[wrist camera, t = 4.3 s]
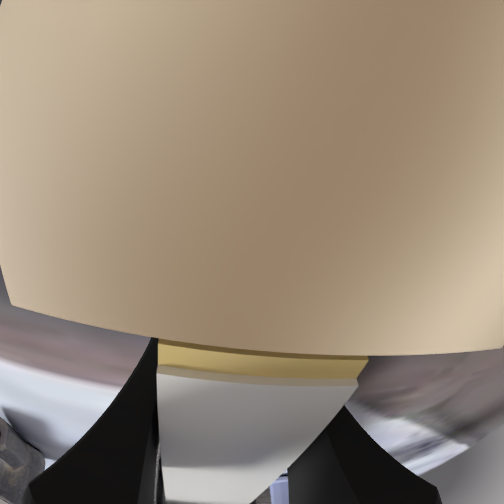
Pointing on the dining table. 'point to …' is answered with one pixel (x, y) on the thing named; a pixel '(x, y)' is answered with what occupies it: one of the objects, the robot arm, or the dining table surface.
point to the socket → (258, 171)
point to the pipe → (16, 464)
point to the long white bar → (241, 416)
